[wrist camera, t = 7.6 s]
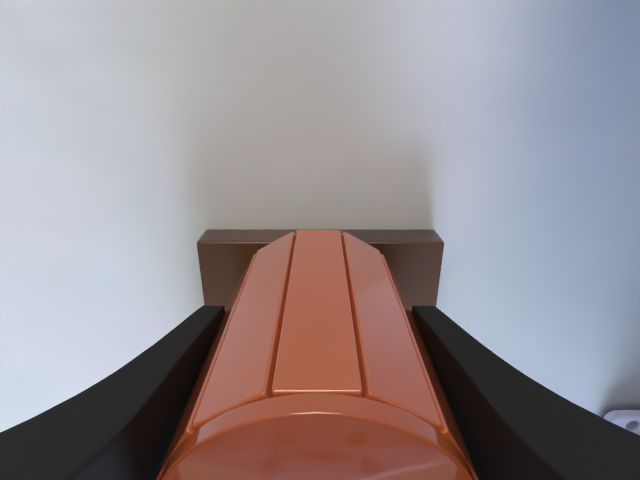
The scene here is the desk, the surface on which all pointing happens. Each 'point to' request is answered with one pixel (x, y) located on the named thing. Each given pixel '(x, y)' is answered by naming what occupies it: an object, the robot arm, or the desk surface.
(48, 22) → the desk surface
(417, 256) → the rack
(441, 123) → the desk surface
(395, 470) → the cup
